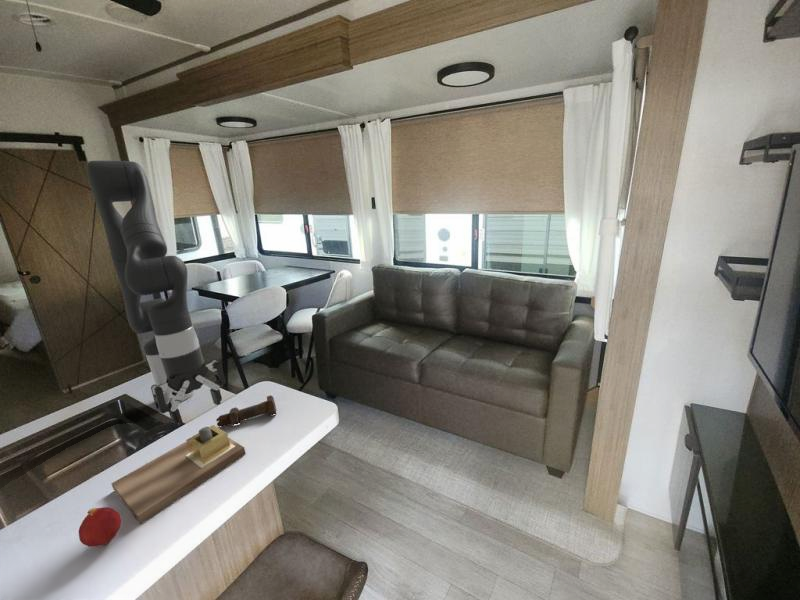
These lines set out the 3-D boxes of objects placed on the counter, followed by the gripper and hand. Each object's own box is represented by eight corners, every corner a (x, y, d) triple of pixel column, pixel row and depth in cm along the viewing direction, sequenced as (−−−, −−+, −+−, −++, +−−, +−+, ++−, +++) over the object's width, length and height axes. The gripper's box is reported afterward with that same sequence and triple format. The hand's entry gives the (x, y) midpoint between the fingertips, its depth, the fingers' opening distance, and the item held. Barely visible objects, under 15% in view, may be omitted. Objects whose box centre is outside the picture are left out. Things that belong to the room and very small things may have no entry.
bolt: (221, 432, 97) (277, 414, 102) (217, 433, 93) (276, 415, 97) (218, 411, 99) (273, 395, 103) (213, 411, 94) (271, 394, 99)
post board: (114, 490, 77) (101, 460, 75) (213, 433, 94) (205, 407, 92) (140, 524, 68) (127, 490, 65) (245, 454, 84) (238, 425, 82)
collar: (190, 454, 83) (186, 440, 82) (217, 438, 88) (213, 424, 87) (203, 463, 79) (198, 449, 78) (230, 446, 84) (226, 432, 83)
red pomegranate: (106, 529, 67) (91, 495, 65) (134, 527, 67) (120, 493, 65) (78, 558, 62) (61, 523, 60) (109, 557, 61) (93, 521, 59)
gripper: (204, 334, 84) (221, 394, 88) (135, 359, 73) (158, 425, 78) (220, 339, 79) (236, 402, 84) (149, 366, 69) (172, 436, 73)
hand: (199, 413), depth 81 cm, fingers open, 8 cm apart
